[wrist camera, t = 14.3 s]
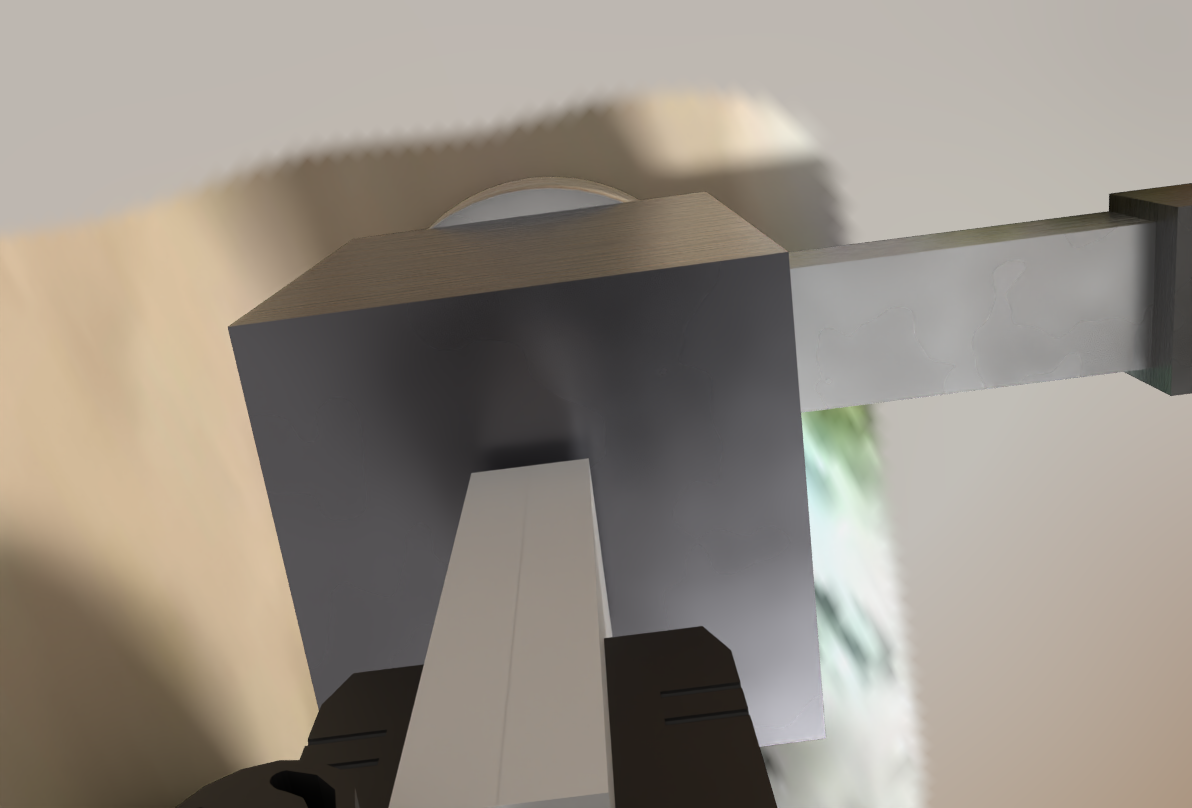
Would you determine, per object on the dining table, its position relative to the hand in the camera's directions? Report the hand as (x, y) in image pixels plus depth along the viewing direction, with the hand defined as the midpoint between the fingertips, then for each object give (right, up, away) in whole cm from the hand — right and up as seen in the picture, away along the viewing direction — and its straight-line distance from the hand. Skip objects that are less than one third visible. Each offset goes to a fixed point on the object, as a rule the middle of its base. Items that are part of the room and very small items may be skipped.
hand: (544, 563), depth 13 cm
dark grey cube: (0, +2, +8) cm, 9 cm away
